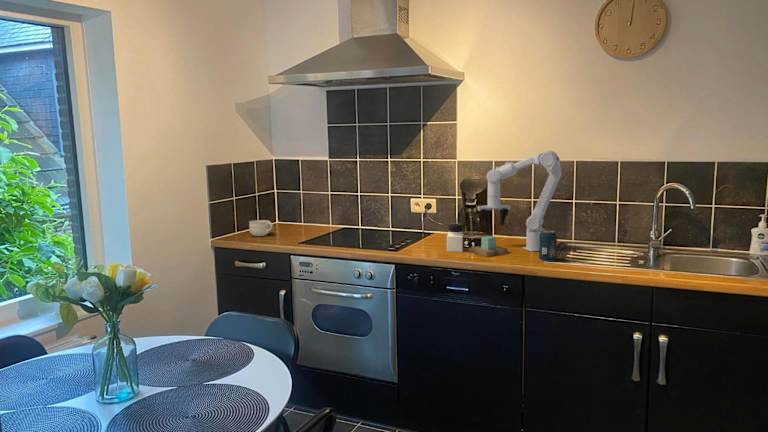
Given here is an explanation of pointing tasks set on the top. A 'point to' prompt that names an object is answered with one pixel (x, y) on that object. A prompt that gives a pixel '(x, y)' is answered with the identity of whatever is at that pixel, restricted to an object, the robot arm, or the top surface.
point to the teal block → (488, 242)
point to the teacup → (260, 227)
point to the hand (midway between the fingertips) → (493, 225)
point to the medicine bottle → (455, 238)
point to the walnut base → (487, 251)
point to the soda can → (547, 245)
